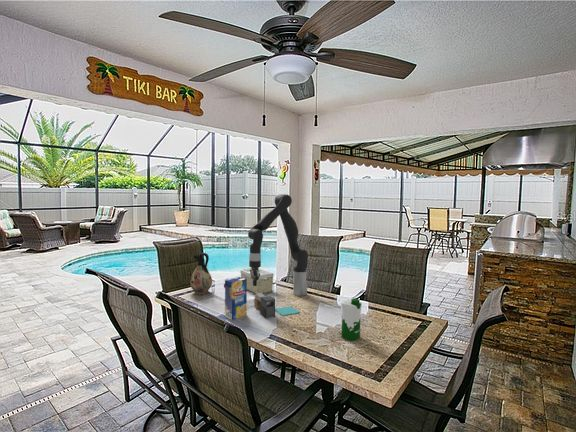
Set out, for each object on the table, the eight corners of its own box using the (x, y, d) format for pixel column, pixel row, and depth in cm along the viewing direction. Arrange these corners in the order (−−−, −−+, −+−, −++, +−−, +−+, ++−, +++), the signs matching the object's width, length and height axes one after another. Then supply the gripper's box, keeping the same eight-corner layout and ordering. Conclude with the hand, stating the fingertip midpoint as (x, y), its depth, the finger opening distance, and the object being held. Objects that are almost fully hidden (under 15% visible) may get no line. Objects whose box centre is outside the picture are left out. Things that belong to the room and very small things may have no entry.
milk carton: (354, 342, 162) (355, 303, 160) (338, 337, 167) (339, 299, 166) (362, 336, 168) (363, 298, 167) (347, 331, 174) (347, 295, 173)
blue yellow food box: (246, 314, 197) (246, 278, 195) (232, 319, 189) (232, 282, 187) (239, 312, 201) (239, 276, 200) (224, 316, 193) (224, 280, 192)
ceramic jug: (186, 294, 235) (185, 253, 233) (197, 288, 249) (197, 249, 247) (207, 297, 230) (206, 254, 228) (217, 290, 244) (217, 251, 242)
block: (260, 306, 212) (260, 297, 212) (263, 308, 208) (263, 299, 208) (254, 307, 210) (254, 298, 210) (256, 309, 206) (256, 300, 206)
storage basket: (274, 291, 245) (274, 272, 244) (256, 295, 235) (256, 275, 234) (257, 284, 264) (257, 266, 263) (239, 287, 254) (239, 269, 253)
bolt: (261, 296, 211) (261, 293, 210) (271, 304, 196) (271, 300, 196) (255, 297, 209) (255, 293, 209) (265, 305, 195) (265, 301, 194)
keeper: (270, 312, 201) (270, 295, 200) (275, 316, 195) (275, 299, 194) (260, 314, 198) (260, 297, 197) (265, 318, 192) (265, 300, 191)
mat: (290, 306, 212) (290, 306, 212) (299, 312, 201) (299, 312, 201) (274, 309, 206) (274, 308, 206) (282, 316, 196) (282, 315, 196)
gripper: (264, 261, 209) (263, 287, 210) (256, 257, 221) (256, 282, 222) (253, 261, 206) (252, 289, 207) (246, 258, 218) (245, 283, 219)
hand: (254, 285), depth 215 cm, fingers closed
